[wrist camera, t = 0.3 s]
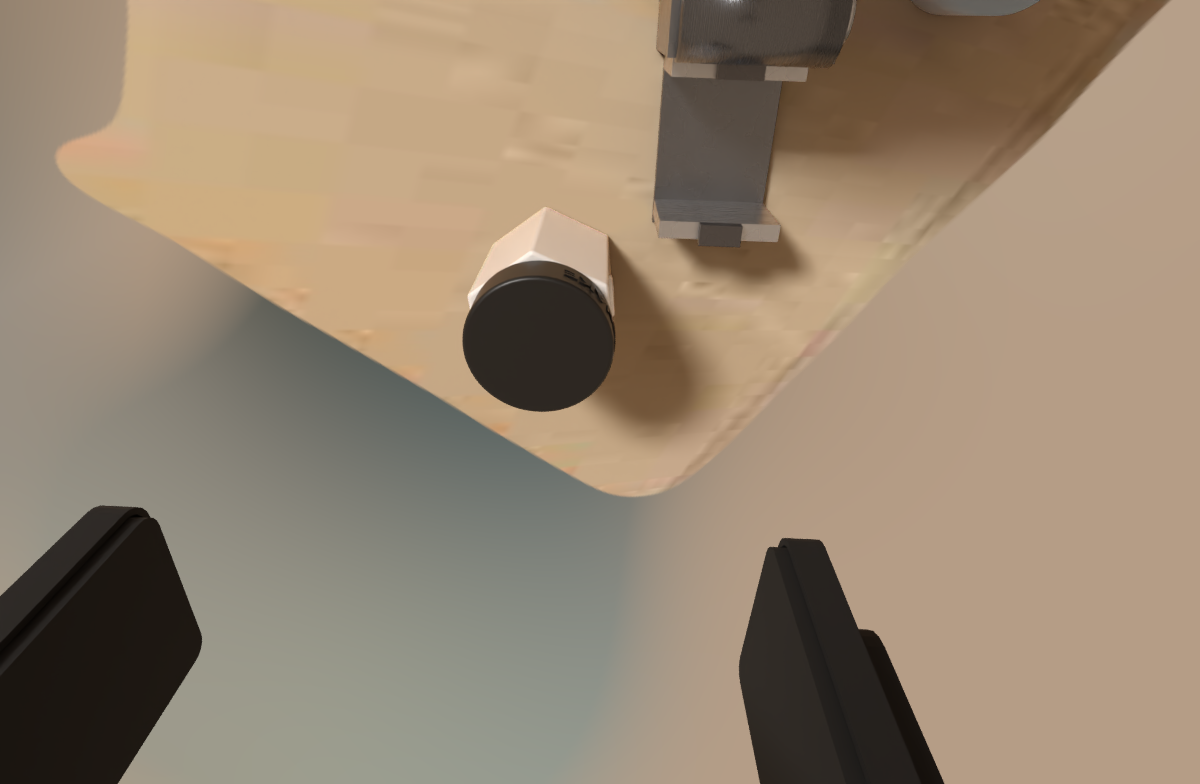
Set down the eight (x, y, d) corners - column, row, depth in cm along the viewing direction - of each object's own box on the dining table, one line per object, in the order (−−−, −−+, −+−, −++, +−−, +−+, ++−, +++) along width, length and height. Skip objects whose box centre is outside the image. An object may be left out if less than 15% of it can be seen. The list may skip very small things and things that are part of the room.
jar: (617, 325, 47) (621, 414, 36) (506, 333, 47) (478, 424, 37) (608, 200, 42) (608, 261, 32) (485, 210, 43) (445, 274, 32)
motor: (766, 224, 43) (807, 279, 34) (644, 219, 43) (654, 273, 34) (808, -32, 36) (874, -45, 27) (662, -38, 36) (680, -53, 27)
